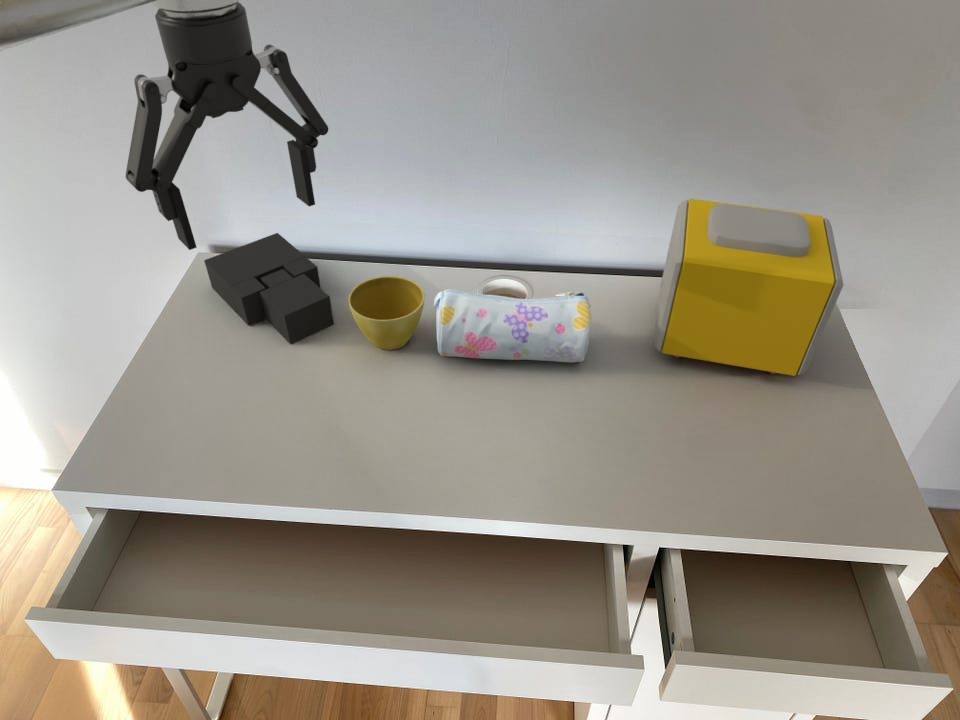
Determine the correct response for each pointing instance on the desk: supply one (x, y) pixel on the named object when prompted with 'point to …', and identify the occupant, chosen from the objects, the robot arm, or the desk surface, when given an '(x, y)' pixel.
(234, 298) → the notch pad
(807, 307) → the alarm clock
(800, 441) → the desk surface
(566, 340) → the pencil case
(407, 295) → the flower pot
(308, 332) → the tab pad
